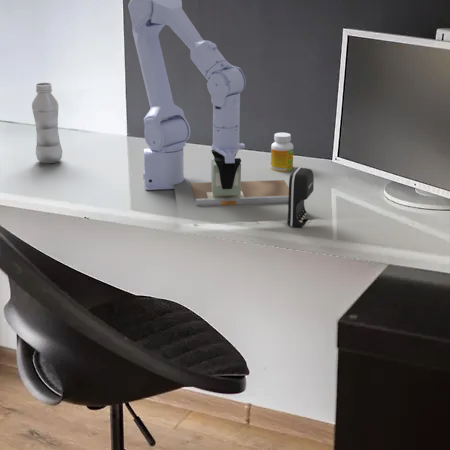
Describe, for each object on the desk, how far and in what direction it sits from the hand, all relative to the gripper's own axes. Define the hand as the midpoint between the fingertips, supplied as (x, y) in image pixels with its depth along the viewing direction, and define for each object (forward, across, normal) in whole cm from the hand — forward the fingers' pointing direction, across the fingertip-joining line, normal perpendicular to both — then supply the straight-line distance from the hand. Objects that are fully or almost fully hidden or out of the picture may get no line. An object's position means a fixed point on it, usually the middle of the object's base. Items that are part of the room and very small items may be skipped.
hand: (225, 185), depth 182 cm
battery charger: (+4, -14, -14) cm, 20 cm away
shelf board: (+4, +3, -4) cm, 6 cm away
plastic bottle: (+4, +33, +41) cm, 53 cm away
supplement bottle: (+4, +19, -16) cm, 25 cm away
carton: (+2, 0, 0) cm, 2 cm away
